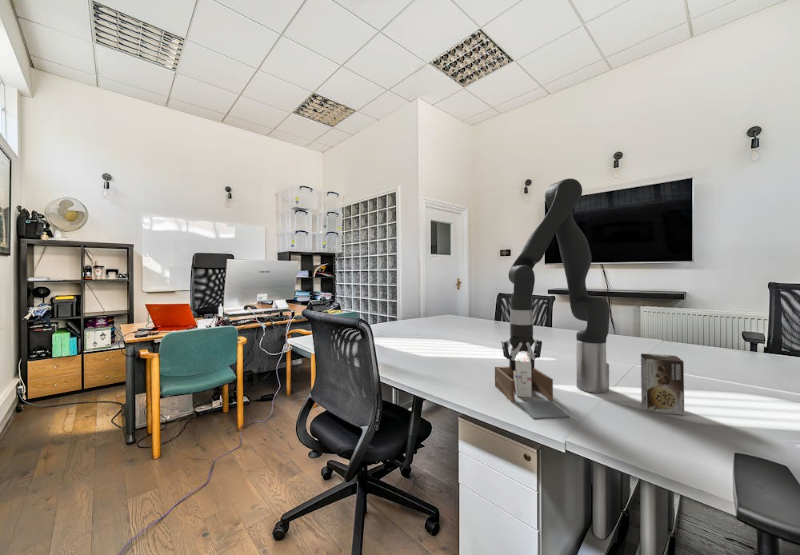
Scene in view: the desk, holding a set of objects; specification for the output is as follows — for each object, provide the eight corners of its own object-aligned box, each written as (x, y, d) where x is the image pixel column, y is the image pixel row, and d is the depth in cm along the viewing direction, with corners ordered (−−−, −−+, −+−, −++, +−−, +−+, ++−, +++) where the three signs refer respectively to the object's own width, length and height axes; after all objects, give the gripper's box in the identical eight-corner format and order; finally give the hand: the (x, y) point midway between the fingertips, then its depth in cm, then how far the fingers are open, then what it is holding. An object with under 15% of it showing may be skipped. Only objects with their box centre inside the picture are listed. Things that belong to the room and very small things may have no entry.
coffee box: (676, 407, 98) (676, 355, 98) (685, 416, 92) (685, 361, 92) (640, 402, 102) (640, 352, 102) (646, 411, 96) (646, 357, 96)
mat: (550, 401, 104) (550, 400, 104) (570, 417, 93) (570, 416, 93) (517, 403, 103) (517, 402, 103) (533, 419, 92) (533, 417, 92)
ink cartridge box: (512, 387, 117) (512, 347, 116) (527, 388, 116) (527, 348, 115) (516, 396, 108) (516, 353, 108) (532, 397, 107) (531, 354, 107)
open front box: (531, 384, 120) (531, 365, 120) (552, 400, 105) (552, 379, 105) (494, 385, 119) (494, 367, 119) (511, 402, 104) (511, 381, 104)
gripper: (536, 320, 116) (536, 366, 116) (497, 321, 115) (497, 367, 115) (546, 323, 108) (547, 372, 108) (505, 324, 107) (506, 374, 108)
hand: (521, 369), depth 112 cm, fingers closed on ink cartridge box, 5 cm apart
